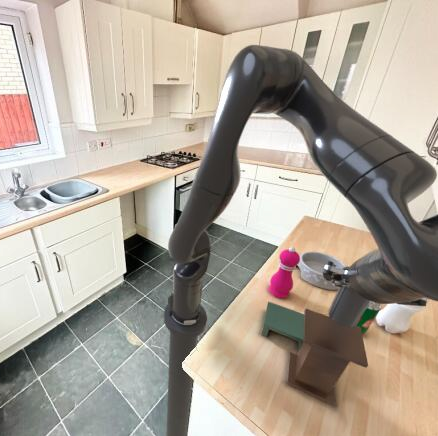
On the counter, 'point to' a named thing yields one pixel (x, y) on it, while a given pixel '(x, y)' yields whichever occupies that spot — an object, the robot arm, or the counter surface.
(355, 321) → the spice jar
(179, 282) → the robot arm
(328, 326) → the wooden pedestal table
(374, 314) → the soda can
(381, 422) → the counter surface
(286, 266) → the pepper mill
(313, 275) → the dog bowl
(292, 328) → the low shelf
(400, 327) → the water bottle
